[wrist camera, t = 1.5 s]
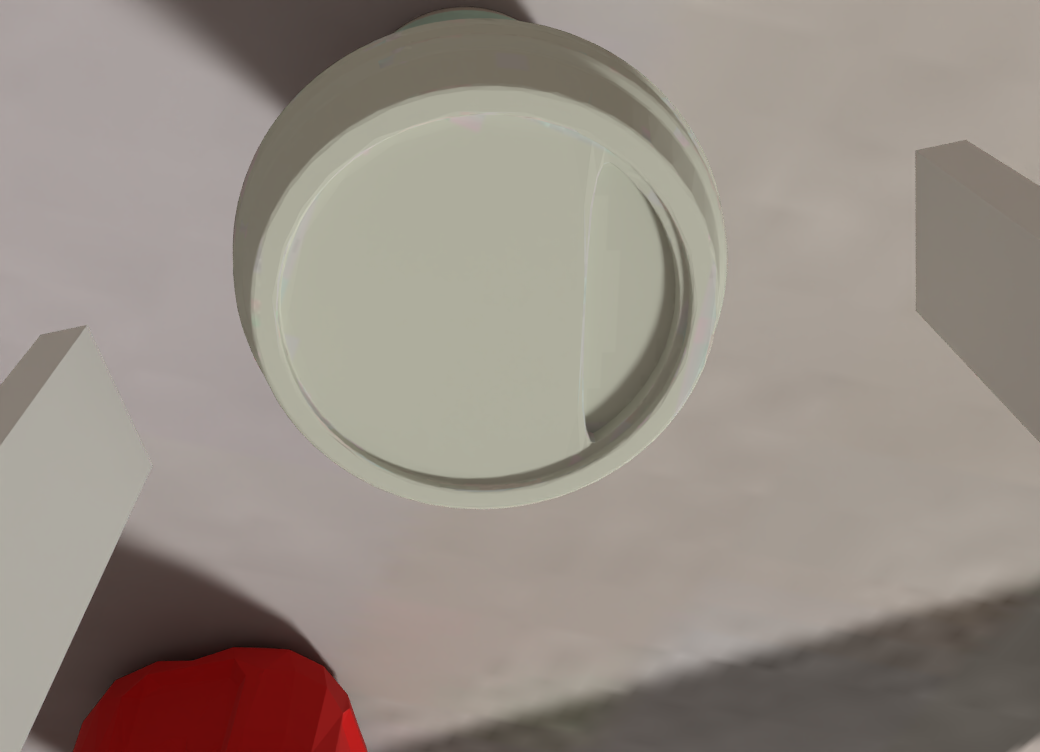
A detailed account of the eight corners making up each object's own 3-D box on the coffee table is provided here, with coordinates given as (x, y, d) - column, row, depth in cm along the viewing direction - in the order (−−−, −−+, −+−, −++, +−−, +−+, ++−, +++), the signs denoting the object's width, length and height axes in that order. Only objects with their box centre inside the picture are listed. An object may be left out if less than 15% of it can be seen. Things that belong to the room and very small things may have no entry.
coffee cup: (516, 322, 29) (562, 602, 19) (245, 174, 27) (122, 406, 16) (692, 67, 26) (864, 234, 16) (404, -130, 23) (380, -88, 13)
